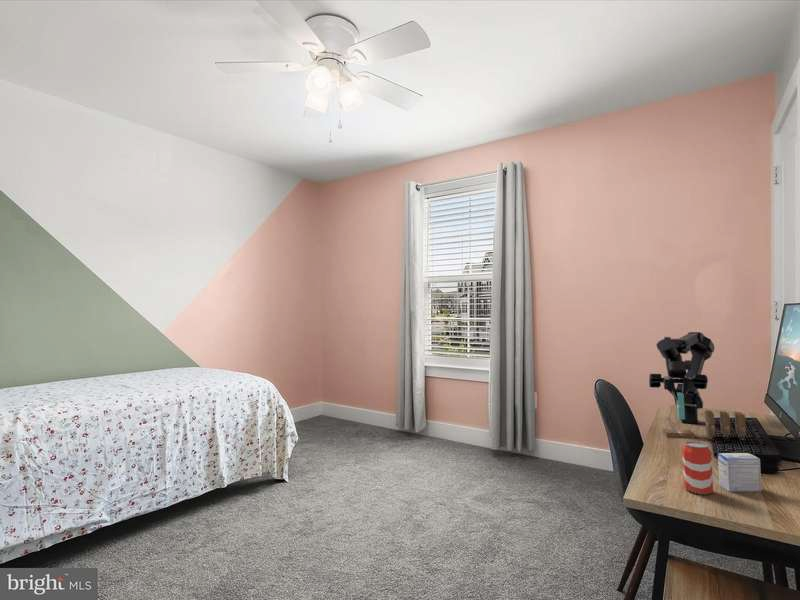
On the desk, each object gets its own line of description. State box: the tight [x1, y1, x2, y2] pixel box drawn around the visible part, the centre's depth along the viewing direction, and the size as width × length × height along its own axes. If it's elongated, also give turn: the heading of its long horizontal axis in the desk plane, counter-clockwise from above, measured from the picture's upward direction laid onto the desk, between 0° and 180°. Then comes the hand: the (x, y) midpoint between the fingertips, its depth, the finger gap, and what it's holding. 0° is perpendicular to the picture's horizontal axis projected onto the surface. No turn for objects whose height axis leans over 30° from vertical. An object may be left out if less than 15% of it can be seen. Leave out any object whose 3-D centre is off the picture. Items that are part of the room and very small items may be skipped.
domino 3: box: [719, 410, 731, 436], centre depth 164 cm, size 2×5×9 cm, turn 156°
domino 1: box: [661, 428, 695, 439], centre depth 169 cm, size 2×5×9 cm
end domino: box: [676, 392, 685, 420], centre depth 170 cm, size 2×5×9 cm, turn 156°
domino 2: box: [704, 410, 716, 440], centre depth 166 cm, size 2×5×9 cm, turn 156°
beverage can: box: [681, 440, 714, 495], centre depth 119 cm, size 6×6×12 cm
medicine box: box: [717, 452, 762, 492], centre depth 119 cm, size 8×4×9 cm, turn 84°
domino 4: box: [734, 411, 747, 437], centre depth 162 cm, size 2×5×9 cm, turn 156°
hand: (680, 399), depth 168 cm, fingers closed on end domino, 2 cm apart
